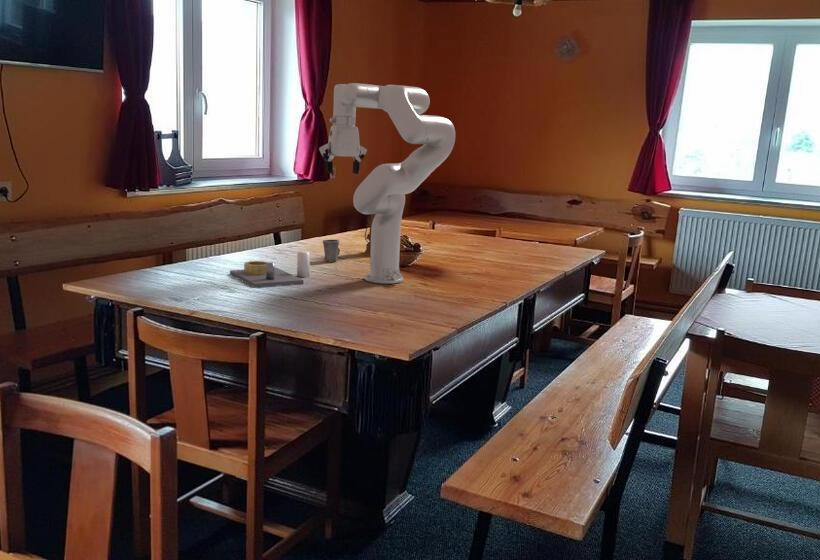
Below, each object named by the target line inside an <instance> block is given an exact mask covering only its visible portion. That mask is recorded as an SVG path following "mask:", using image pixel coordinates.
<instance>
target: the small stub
mask: <svg viewBox="0 0 820 560" xmlns="http://www.w3.org/2000/svg"><path fill="white" fill-rule="evenodd" d="M268 262H269V261H268ZM275 264H276V263H275V262H272V261H271V262H269V263H266V279H267V280H274V277H275V267H276V266H275Z"/></svg>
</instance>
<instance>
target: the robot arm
mask: <svg viewBox="0 0 820 560" xmlns="http://www.w3.org/2000/svg"><path fill="white" fill-rule="evenodd" d="M333 87H334V89H333V108H332V109H333V110H332V111H333V115H332V117H330V118H329V123H332V125H331V126H330V130H329V134H328V135H329V136H328V141H327V142H328V143H326V144H323V145H322V146H320V147H319V148H318V150H319V152H320V154H321V157H322V158H323V159H324V161H325V164H326V165H325V171H326V173H327V174H331V175H332V174H333V172H334V171H333V170H334V169H333V168H334V167H333V166H334V162H333V161H332V160H333V159H334V158H335V157H351V158H352V159H353V161H352V173H353V174H355V175H358V174H359V172H360V163H361V162H362V161H363V159H364V158H365V156H366V154H367V152H368V149H367V148H365V147H364V146H362V145H361V143H360V131H359V128H358V127H359V126H356V121H357V120H356V118H357V116H356V114H357V113H356V112H357V108H364V109H365V108H366V109H377V110H378V109H380V110H383V111H384V112H385V113H387V114H388V116H389V118H390V120H391V121H392V123H393V125H394V126H395V128H396V130H397V131H398V134H399V136H400V137H401V138H402V139H403V140H404V141H405V142H407V143H408V144H411V145H420V147H418V148H416V149H415V150H413V151H412V152H411V153H410V154H409V155H408V156H407V157H406V158H405V159H404V160H403V161H402V162H397V163H382V164H379V165H378V166H376V167H374V169H373V170H371V172H370V173H369V174H368V175H367V176H366V177H365V178H364V179H363V181H362V182H360V184H359V185H358V186H357V188H356V189H355V191H354V194H353V199H352V201H353V207H354V208H355V209H356V210H357V212H359V213H360V214H363V215H369V214H376V215H375V217H374V220H373V222H372V228H371V251H370V255H369V256H370V257H369V259H370V261H369V273H367V274H365V275H364V280H365V281H366V282H369V283H375V284H383V285H385V284H388V285H389V284H390V285H391V284H399V283H402V282H403V281H404V277H403V274H402V273H400V250H401V249H400V248H401V230H402V220H403V218H402V217H403V213H404V208H405V204H406V195H408V194H411V193H412V192H414V191H416V190H417V188H418V187H419V186H420V185H421V184H422V183H423V182H424V181H425V180H426V179H427V178H428V177H429V176H430V175H431V173H433V172H434V171H435V170H436V169H437V168H438V167H440V166H441V164H442V163H443V162H445V160H447V158H448V157H449V156H450V155H451V153H452V151H453V149H454V146H455V142H456V129H455V126H454V124H453V122H452V121H451V120H449V119H448V118H446V117H443V116H440V115H431V114H430V115H428V114H424V113H426V112H427V110H428V109H429V107H430V104H431V103H430V102H431V100H430V96H429V94H428V93H427V91H426V90H424V89H423V88H421V87H418V86H409V85H402V84H401V85H400V84H387V85H376V84H369V83H357V82H352V83H351V82H350V83H348V84H346V83H339V84H336V85H335V86H333ZM421 145H422V146H421ZM326 150H327V152H326ZM327 153H328V154H327Z"/></svg>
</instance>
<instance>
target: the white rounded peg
mask: <svg viewBox="0 0 820 560" xmlns="http://www.w3.org/2000/svg"><path fill="white" fill-rule="evenodd" d="M296 257H297V260H296V261H297V267H296V273H297V274H296V275H297V276H296V277H298V278H309V277H310V271H311V270H310V268H311V267H310V262H311V261H310V260H311V252H310V251H306V250H302V251H301V250H300V251H297V256H296Z"/></svg>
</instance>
